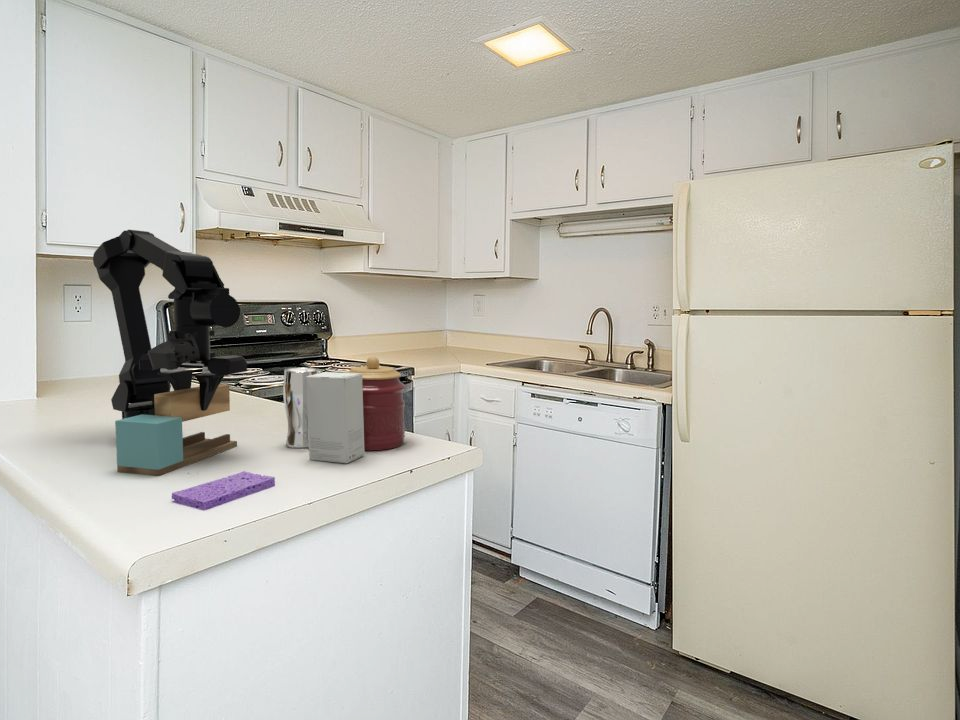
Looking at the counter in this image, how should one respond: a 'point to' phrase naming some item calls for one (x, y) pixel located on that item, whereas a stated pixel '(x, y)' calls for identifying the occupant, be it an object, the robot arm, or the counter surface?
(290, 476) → the counter surface
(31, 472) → the counter surface
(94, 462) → the counter surface
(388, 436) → the canister
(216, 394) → the wooden block
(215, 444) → the board
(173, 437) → the end cap
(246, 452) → the counter surface
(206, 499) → the sponges
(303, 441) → the silver tall cylinder
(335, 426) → the skincare box
